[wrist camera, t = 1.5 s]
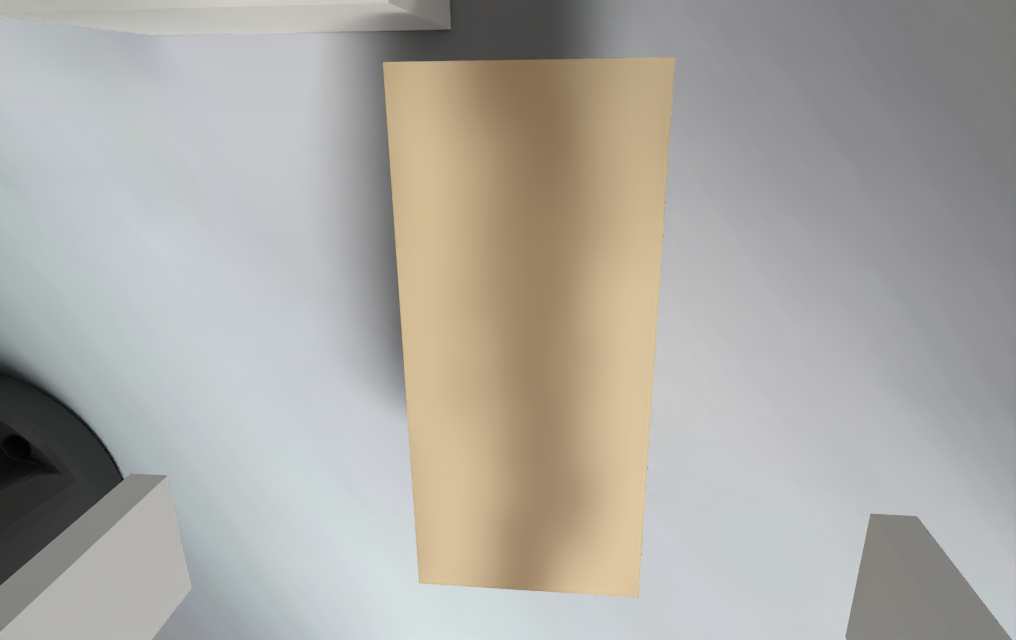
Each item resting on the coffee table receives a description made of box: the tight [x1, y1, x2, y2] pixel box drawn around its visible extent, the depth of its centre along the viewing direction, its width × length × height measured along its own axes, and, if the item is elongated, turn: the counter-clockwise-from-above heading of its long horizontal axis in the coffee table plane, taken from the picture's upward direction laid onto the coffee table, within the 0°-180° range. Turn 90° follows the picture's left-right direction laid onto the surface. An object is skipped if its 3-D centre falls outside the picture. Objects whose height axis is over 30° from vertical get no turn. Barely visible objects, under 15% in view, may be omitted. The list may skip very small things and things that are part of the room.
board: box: [383, 57, 675, 597], centre depth 22 cm, size 8×18×3 cm, turn 1°
